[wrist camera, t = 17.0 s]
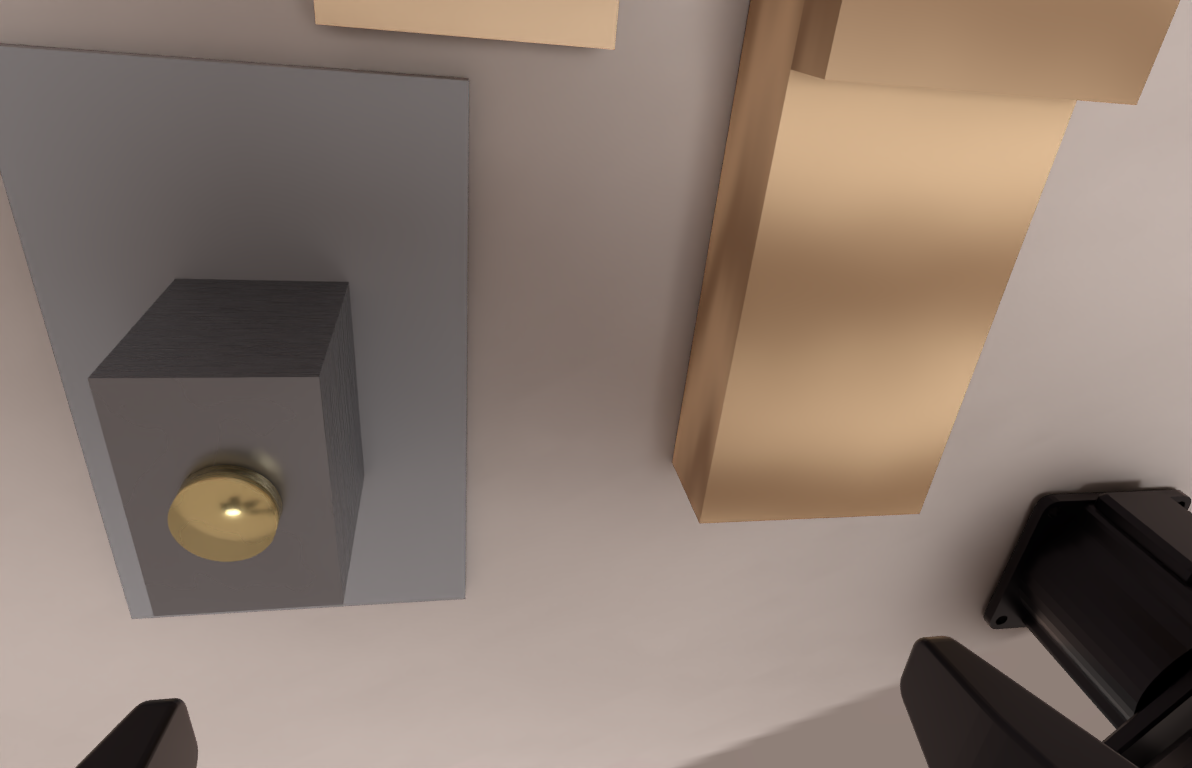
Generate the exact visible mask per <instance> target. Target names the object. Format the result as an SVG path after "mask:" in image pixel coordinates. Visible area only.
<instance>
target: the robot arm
mask: <svg viewBox="0 0 1192 768" xmlns="http://www.w3.org/2000/svg"><path fill="white" fill-rule="evenodd" d="M1190 504H1191V499H1190V498H1189V497H1188V496H1187V495H1186V494H1184V493H1183V492H1181V491H1180V490H1155V491H1130V492H1104V493H1079V494H1054V495H1048V496H1045V497H1044V498H1042V499H1041V500H1040V501H1038V503H1037V504H1036V506H1035V508H1034V510H1033V512H1032V514H1031V516H1030V518H1029V520H1028V522H1027V525H1026V527H1025V529H1024V531H1023V533H1022V535H1021V537H1020V539H1019V541H1018V544H1017V546H1016V548H1015V550H1014V552H1013V554H1012V556H1011V558H1010V560H1009V563H1008V565H1007V567H1006V569H1005V571H1004V573H1003V575H1002V577H1001V580H1000V582H999V584H998V586H997V588H996V590H995V592H994V594H993V596H992V599H991V601H990V603H989V605H988V607H987V609H986V611H985V613H984V619H985V621H986V622H987V623H988V624H989V626H990V627H991V628H993V629H1005V628H1018V627H1027V628H1028V629H1029V630H1030V631H1031V632H1032V633H1033V635H1034V636H1035V637H1036V638H1037V639H1038V640H1039V641H1040V643H1041V644H1042V645H1043V646H1044V647H1045V648H1046V649H1047V651H1049V653H1050V654H1051V655H1052V656H1053V657H1054V659H1055V660H1056V661H1057V662H1058V663H1059V664H1060V665H1061V667H1062V668H1063V669H1064V670H1065V671H1066V672H1067V673H1068V675H1069V676H1070V677H1071V678H1072V679H1073V680H1074V681H1075V683H1076V684H1077V685H1078V686H1079V687H1080V688H1081V689H1082V691H1083V692H1084V693H1085V694H1086V695H1087V696H1088V697H1089V699H1091V700H1092V702H1093V703H1094V704H1095V705H1096V706H1097V708H1098V709H1099V710H1100V711H1101V712H1102V713H1103V714H1104V716H1105V717H1106V718H1107V719H1108V720H1109V721H1110V723H1112V725H1113V726H1114V727H1115V728H1116V730H1115V731H1114V732H1113V733H1112V734H1111V735H1109V736H1108V737H1107V738H1106V739H1105V740H1103V741H1102V742H1101V741H1099V740H1098V739H1097V738H1095V737H1094V736H1093V735H1091V734H1090V733H1088V732H1087V731H1085V730H1084V729H1082V728H1081V727H1079V726H1078V725H1077V724H1075V723H1074V722H1072V721H1071V720H1069V719H1068V718H1066V717H1065V716H1064V715H1062V714H1061V713H1059V712H1058V711H1056V710H1055V709H1054V708H1052V707H1051V706H1049V705H1048V704H1046V703H1045V702H1044V701H1042V700H1041V699H1039V698H1038V697H1036V696H1035V695H1033V694H1032V693H1031V692H1029V691H1028V690H1026V689H1025V688H1023V687H1022V686H1021V685H1019V684H1018V683H1016V682H1015V681H1013V680H1012V679H1011V678H1009V677H1008V676H1006V675H1005V674H1003V673H1002V672H1000V671H999V670H998V669H996V668H995V667H993V666H992V665H990V664H989V663H988V662H986V661H985V660H983V659H982V658H980V657H979V656H977V655H976V654H975V653H973V652H972V651H970V650H969V649H967V648H966V647H964V646H963V645H962V644H960V643H959V642H957V641H956V640H954V639H952V638H950V637H947V636H935V637H923V638H919V639H918V640H917V641H916V642H915V643H914V645H913V648H912V650H911V653H910V656H909V658H908V661H907V664H906V666H905V669H904V671H903V674H902V677H901V682H900V689H901V695H902V698H903V702H904V704H905V707H906V709H907V712H908V714H909V717H910V720H911V722H912V725H913V728H914V730H915V733H916V735H917V738H918V741H919V743H920V746H921V749H922V751H923V754H924V756H925V759H926V761H927V764H928V767H929V768H1192V513H1191V512H1189V511H1188V508H1189V506H1190ZM197 760H198V746H197V741H196V738H195V734H194V731H193V728H192V724H191V721H190V717H189V714H188V711H187V707H186V705H185V703H184V702H183V701H182V700H181V699H178V698H172V699H160V700H149V701H145V702H142V703H141V704H139V705H138V706H136V707H135V708H134V709H133V710H132V711H131V712H130V713H129V714H128V715H127V716H126V717H125V718H124V719H123V720H122V721H121V722H120V723H119V724H118V725H117V726H116V727H115V728H114V729H113V730H112V731H111V732H110V733H109V734H108V735H107V736H106V737H105V738H104V739H103V740H102V741H101V742H100V743H99V744H98V745H97V746H96V747H95V748H94V749H93V750H92V751H91V752H90V753H89V754H88V755H87V756H86V757H85V758H84V759H83V760H82V761H81V762H80V764H79V765H78V766H77V767H76V768H196V767H197Z"/></svg>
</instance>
